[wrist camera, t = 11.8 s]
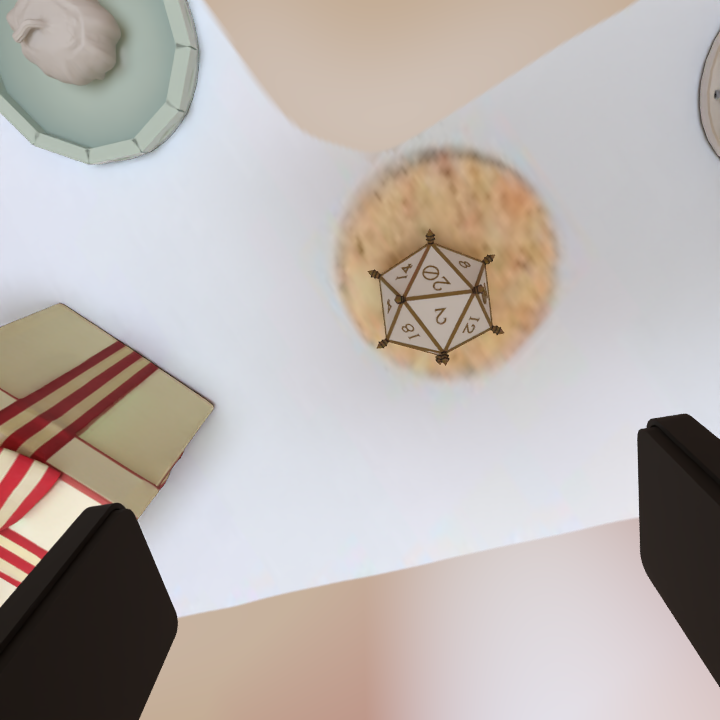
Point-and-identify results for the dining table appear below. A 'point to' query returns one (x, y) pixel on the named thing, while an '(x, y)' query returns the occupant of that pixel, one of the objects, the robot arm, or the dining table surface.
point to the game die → (435, 300)
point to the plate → (108, 87)
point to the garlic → (66, 38)
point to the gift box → (79, 431)
